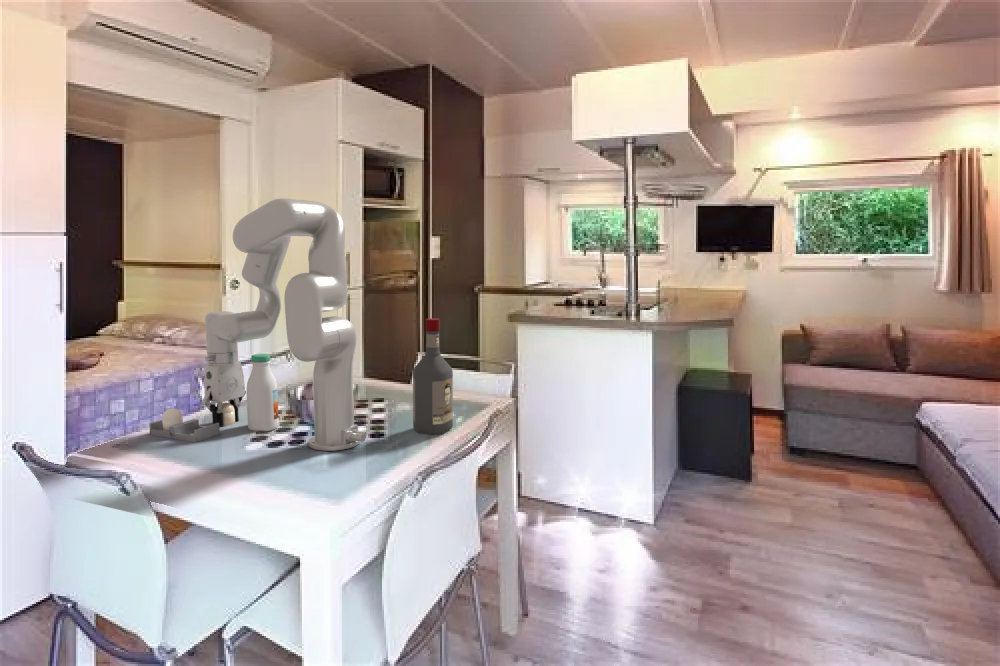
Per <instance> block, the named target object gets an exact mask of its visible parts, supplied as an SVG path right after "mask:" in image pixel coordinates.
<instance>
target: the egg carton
mask: <svg viewBox="0 0 1000 666" xmlns="http://www.w3.org/2000/svg"><path fill="white" fill-rule="evenodd" d="M199 421H200V420H199V419H195V418H193V419H191V420H186V421H183V423H180V424H177V425H173V426H170V432H169V431H163V423H162V419H159V420H156V421H153V422H150V423H148V425H149V426H148V427H149V435H150V436H155V437H161V438H168V439H173V440H179V441H186V442H191V443H199V442H200V441H204V440H206V439H211V438H212V437H215V436H219V435H220V427H219V423H215V424H213V423H211V424H209V425H206V426H204V425H200V423H199Z"/></svg>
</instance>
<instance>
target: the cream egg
mask: <svg viewBox="0 0 1000 666" xmlns="http://www.w3.org/2000/svg"><path fill="white" fill-rule="evenodd" d="M183 419H184V418H183V413H182V412H181V410H180V409H178V408H175V407H171V408H168V409H166V410H165V411H163V413H162V417H161V420H162V423H163V431H169V432H170V426H173V425H177V424H180V423H183V422H184V421H183Z"/></svg>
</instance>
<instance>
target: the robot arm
mask: <svg viewBox="0 0 1000 666" xmlns="http://www.w3.org/2000/svg"><path fill="white" fill-rule="evenodd" d="M292 237H311V238H312V241H311V243H310V246H309V249H308V253H307V256H308V257H307V258H308V272H301V273H298V274H296V275H294V276H292V277H291V278H290V280H289V281H288V282H287V285H286V287H285V290H284V296H283V297H284V312H285V314H284V316H285V326H286V328H285V329H286V336H287V337H286V339H287V344H288V348H289V350H290V352H291V354H292V356H294V358H296V359H297V360H299V361H301V362H307V363H308V362H314V366H313V373H312V381H313V382H312V394H313V427H314V430H313V431H314V435H313V436H310V438H309V439H308V441H307V443H308V447H309V448H311V449H313V450H317V451H325V452H326V451H327V452H328V451H329V452H330V451H332V452H333V451H342V450H347V449H351V448H354V447H356V446H358V445H359V444H360V443H363V442H365V441H366V438H367V431H362V430H359V425H358V424H356V423H355V408H354V403H355V400H354V359H355V353H356V344H357V333H356V332H357V331H356V328H355V327H354V324H353V323H352V322H351V321H349V320H348V319H347V318H345V317H342V316H338V315H337V316H336V315H335V316H332V315H331V316H325V317H322V313H327V312H333V311H337V310H340V309H341V308H343V307H344V306H345V305H346V303H347V300H348V283H347V282H348V280H347V265H346V264H347V263H346V255H345V254H346V252H345V243H346V242H345V241H346V230H345V224H344V221H343V218H342V217H341V215H340V214H339V212H338V211H337V210H336V209H335V208H333V207H332V206H331V205H328V204H326V203H324V202H318V201H313V200H304V199H294V198H293V199H292V198H282V197H281V198H275V199H272V200H271V201H269V202H267V203H265V204H263V205H261V206H260V207H257V208H256V209H254V210H253V211H251V212H249V213H247V214H246V215H244V216H243V217H242V218H240V220H238V221H237V223H236V224H235V226H234V229H233V232H232V241H233V244H234V246H235V248H236V249H237V250H238V251H239V252H241V253H245V254H246V258H245V261H244V264H243V267H242V269H241V276H242V279H244V280H245V281H246V283H248V284H250V285H251V286H254V287H255V288H258V291H259V299H258V302H257V304H256V307H255V308H256V309H255V310H251V311H244V312H243V311H242V312H237V313H235V312H232V311H227V310H225V311H222V310H220V311H219V310H218V311H211V312H207V314H206V315H205V318H204V323H205V324H204V325H205V326H204V328H205V343H206V344H205V345H206V357H205V359H204V360H205V361H206V363H207V364H205V370H204V386H203V387H204V388H203V389H204V397H203V399H202V400H201V405H202V406H203V407H205V408H206V409H207V410H209V412H210V413H211V415H212V424H215V423H219V428H220V427H221V428H222V427H225V426H224V421H223V413H222V412H221V408H222V403H226V402H227V403H230V404H231V405H233V407H234V409H235V423H238V422H239V421H240V420H239V419H240V418H239V408H240V406H241V402H242V400H243V399H244V396H245V395H247V390H246V383H245V376H244V370H243V366H242V363H241V360H239V350H238V343H242V342H243V343H244V342H247V341H248V342H249V341H252V340H259V339H264V338H267V337H268V336H270V334H272V332H273V331H274V329H275V328H276V324H277V322H278V319H279V316H280V313H281V309H282V299H281V294H280V290H279V288H278V286H277V281H278V278H279V276H280V273H281V272H280V271H281V269H282V266H283V263H284V262H285V261H284V260H285V257H286V255H287V251H288V248H289V245H290V243H291V238H292Z"/></svg>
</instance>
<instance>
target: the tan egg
mask: <svg viewBox="0 0 1000 666" xmlns="http://www.w3.org/2000/svg"><path fill="white" fill-rule="evenodd" d="M221 412H222V413H223V421H224V426H223V427H227V426H233V425H234V424H236V422H235V409H234V407H233V405H231V404H230V403H228V402H222V408H221Z"/></svg>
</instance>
